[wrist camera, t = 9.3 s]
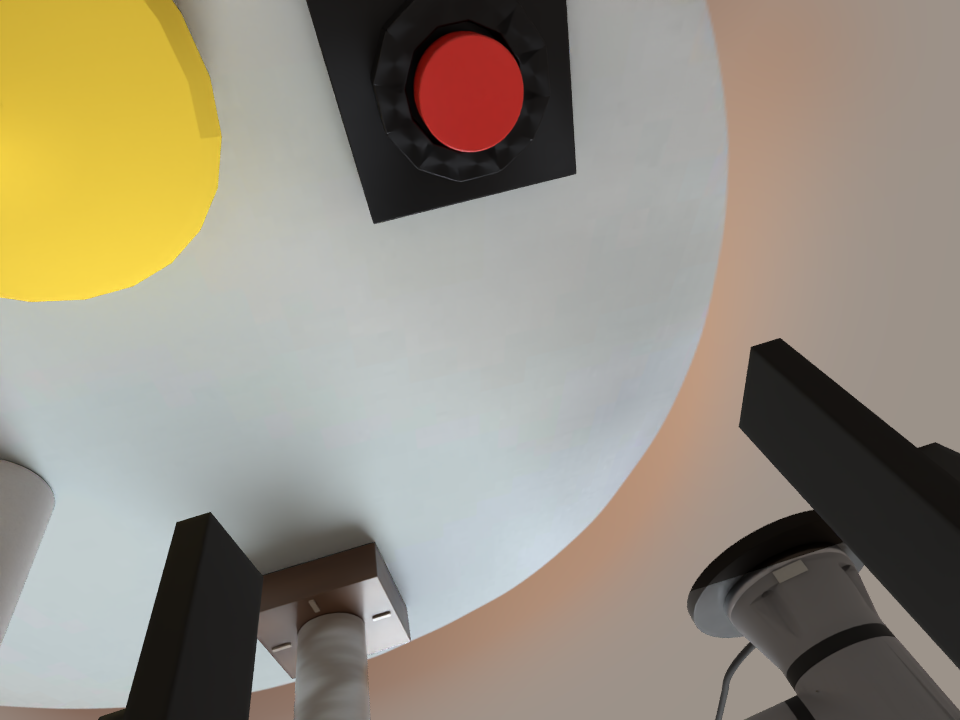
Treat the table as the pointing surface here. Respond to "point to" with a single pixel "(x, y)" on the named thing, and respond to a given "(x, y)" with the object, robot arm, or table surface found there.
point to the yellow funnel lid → (100, 145)
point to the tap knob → (332, 669)
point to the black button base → (392, 109)
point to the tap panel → (332, 602)
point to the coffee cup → (19, 531)
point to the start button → (468, 90)
